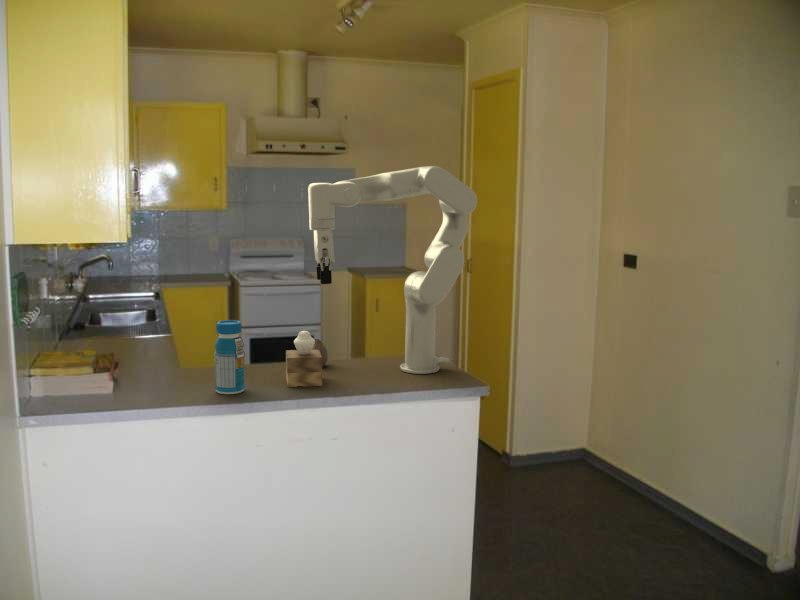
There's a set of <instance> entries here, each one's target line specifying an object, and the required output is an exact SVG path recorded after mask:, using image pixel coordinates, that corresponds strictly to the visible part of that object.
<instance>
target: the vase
mask: <svg viewBox="0 0 800 600" xmlns="http://www.w3.org/2000/svg"><path fill="white" fill-rule="evenodd" d="M313 339H314V340H315V343H314V346H313V348H312V350H319V351H320V353H321V356H322V368H323V367H324V366H325V365H326V364H327V362H328V359H329V353H328V349H327V347H326V345H325V344H324V343H323V340H322V339H320V338H313Z"/></svg>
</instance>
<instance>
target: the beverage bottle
mask: <svg viewBox="0 0 800 600" xmlns="http://www.w3.org/2000/svg"><path fill="white" fill-rule="evenodd" d="M216 333H217V335H219V336H217V338H216V340H215V342H214V350H215V352H214V353H213V355H214V356H213V358H214V370H215V371H214V373H215V374H214V376H215V377H214V379H215V392H217V393H218V394H221V395H236V394H237V395H238V394H241V393H242V392H244V391H245V389H246V385H245V357H246V353H245V351H244V347H245V342H244V341H243V338H242V337H241V335H240V334H241V333H242V322H241V321H240V320H236V319H225V320H219V321H217V322H216Z"/></svg>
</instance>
